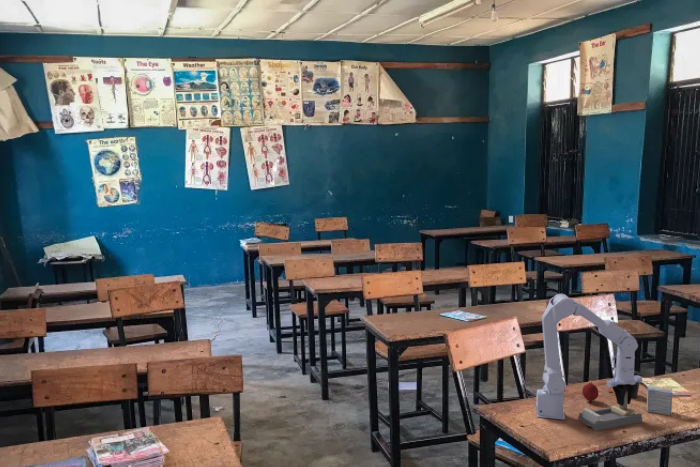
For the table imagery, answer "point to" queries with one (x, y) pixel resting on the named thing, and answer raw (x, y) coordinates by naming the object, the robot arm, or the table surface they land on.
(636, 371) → the coffee cup
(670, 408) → the medicine box
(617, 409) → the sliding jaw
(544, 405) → the robot arm
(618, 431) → the table surface
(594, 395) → the onion
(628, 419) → the rail base
